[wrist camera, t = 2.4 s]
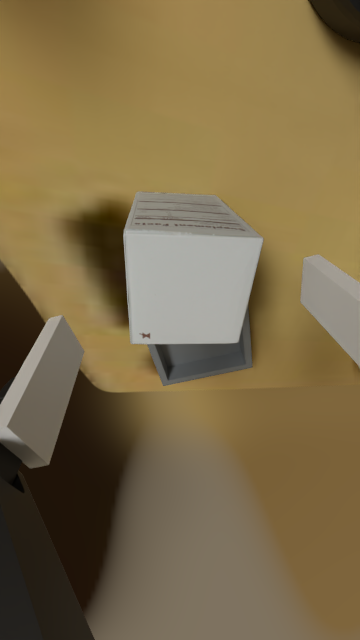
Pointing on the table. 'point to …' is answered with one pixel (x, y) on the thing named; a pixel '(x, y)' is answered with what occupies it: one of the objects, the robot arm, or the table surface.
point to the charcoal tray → (202, 358)
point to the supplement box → (187, 269)
